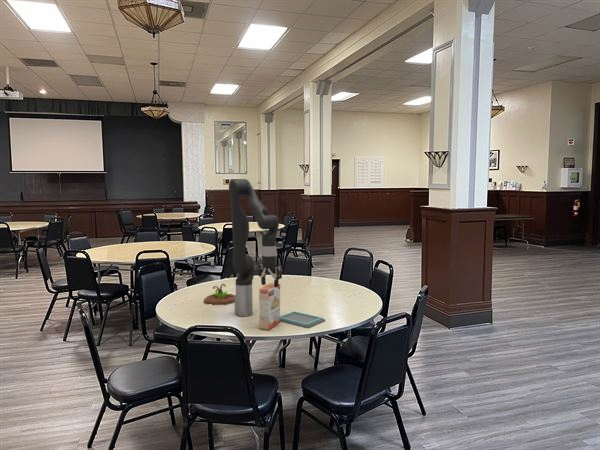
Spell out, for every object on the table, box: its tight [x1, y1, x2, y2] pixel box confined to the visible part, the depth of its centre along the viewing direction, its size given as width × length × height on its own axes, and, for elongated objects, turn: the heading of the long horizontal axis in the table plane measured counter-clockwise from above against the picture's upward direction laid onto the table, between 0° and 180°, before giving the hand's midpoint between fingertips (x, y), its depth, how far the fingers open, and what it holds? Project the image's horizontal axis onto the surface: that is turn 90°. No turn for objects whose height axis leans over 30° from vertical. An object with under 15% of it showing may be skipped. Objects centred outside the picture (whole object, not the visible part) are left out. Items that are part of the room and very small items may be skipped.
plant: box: [203, 283, 236, 306], centre depth 271 cm, size 20×20×11 cm
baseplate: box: [280, 310, 326, 329], centre depth 231 cm, size 22×15×2 cm
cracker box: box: [258, 282, 281, 331], centre depth 222 cm, size 14×6×21 cm, turn 158°
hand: (269, 286), depth 221 cm, fingers open, 8 cm apart
